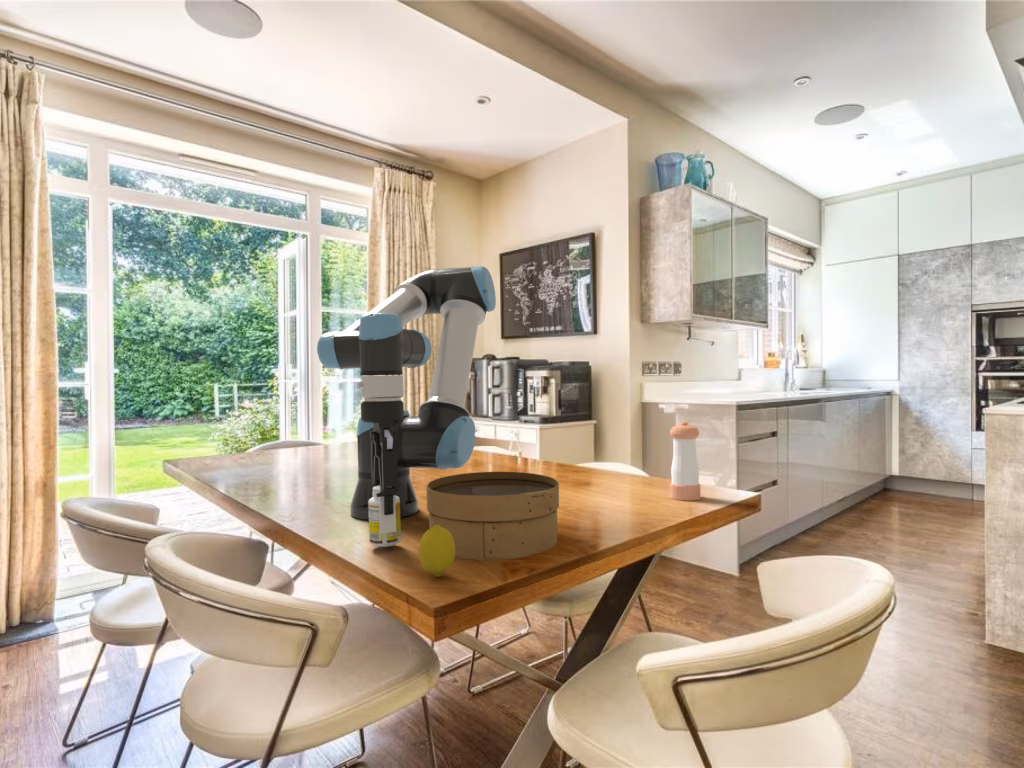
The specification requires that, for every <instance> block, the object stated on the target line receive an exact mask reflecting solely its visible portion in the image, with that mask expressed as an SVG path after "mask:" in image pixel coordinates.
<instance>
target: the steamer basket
mask: <svg viewBox="0 0 1024 768" xmlns="http://www.w3.org/2000/svg"><path fill="white" fill-rule="evenodd" d="M559 507H560V482H559V481H558V480H557V479H555V478H554V477H552V476H548V475H543V474H539V473H538V474H537V473H533V472H532V473H529V472H523V471H522V472H519V471H479V472H466V473H459V474H452V475H447V476H442V477H440V478H435V479H433V480H431V481H429V482H428V483H427V484H426V509H427V512H428V516H429V518H428V520H429V523H428V525H429V529H430V528H432V527H434V526H435V525H439V526H440V527H443V528H445V529H447V530H448V531H449V532H450V533H451V535H452V536H453V539H454V543H455V558H458V559H467V560H480V561H502V560H513V559H521V558H526V557H530V556H534V555H538V554H541V553H544V552H546V551H548V550H550V549H551V548H553V547H554V546H555V545H557V543H558V538H559V537H558V508H559Z"/></svg>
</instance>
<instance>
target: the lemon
mask: <svg viewBox="0 0 1024 768" xmlns="http://www.w3.org/2000/svg"><path fill="white" fill-rule="evenodd" d="M419 541H420V542H419V545H418V546H419V547H418V557H419V561H420V564H421V566H422V568H423V569H424V570H425V571H427V572H428V573H431V574H432V575H433V576H435V577H436V578H438V577H440V576H441V575H442V574H443V573H446V572H447V571H448V570H449V569H450V568H451V567H452V565H454V563H455V562H454V561H455V558H456V557H455V543H454V539H453V536H452V535H451V533H450V532H449V531H448V530H447V529H445V528H443V527H440V526H439V525H435V526H434V527H432V528H430V527H429V529H427V530H426V531H425V532H423V535H422V537H421V538H420V540H419Z"/></svg>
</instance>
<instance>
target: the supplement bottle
mask: <svg viewBox="0 0 1024 768" xmlns="http://www.w3.org/2000/svg"><path fill="white" fill-rule="evenodd" d="M380 492H381V491H380V485H379V486H375V487H373V493H372V494H373V497H372V498H370V499H369V502H368V506H369V520H368V529H369V530H368V533H369V535H368V536H369V543H370V545H372V546H373V547H378V548H384V547H392V546H395V545H397V544H399V543H400V542H401V541H402V534H401V533H402V530H401V527H402V526H401V517H400V499H399V497H398V496H395V498H396V532H390V533H382V534H381V533H380V513H379V497H377V496H376V494H377V493H380Z"/></svg>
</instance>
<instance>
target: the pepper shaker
mask: <svg viewBox="0 0 1024 768" xmlns="http://www.w3.org/2000/svg"><path fill="white" fill-rule="evenodd" d="M669 434H670V437H672V438H673V439H672V441H673V444H672V445H673V447H672V448H673V449H672V451H673V455H672V461H671V462H672V463H671V469H670V472H671V473H670V475H671V482H670V483H669V491H670V492H669V496H670V499H673V500H678V501H698V500H700V499H701V484H700V483H699V482H700V481H699V479H700V478H699V477H700V470H699V469H700V468H699V464H698V458H697V438H698V437H699V436H700V431H699V429H698V428H697V427H696V426H694V425H693V424H692V425H691V424H688V422H687V421H682V422H681V423H680V424H678V425H674V426H672V427H671V429H670V431H669Z"/></svg>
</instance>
